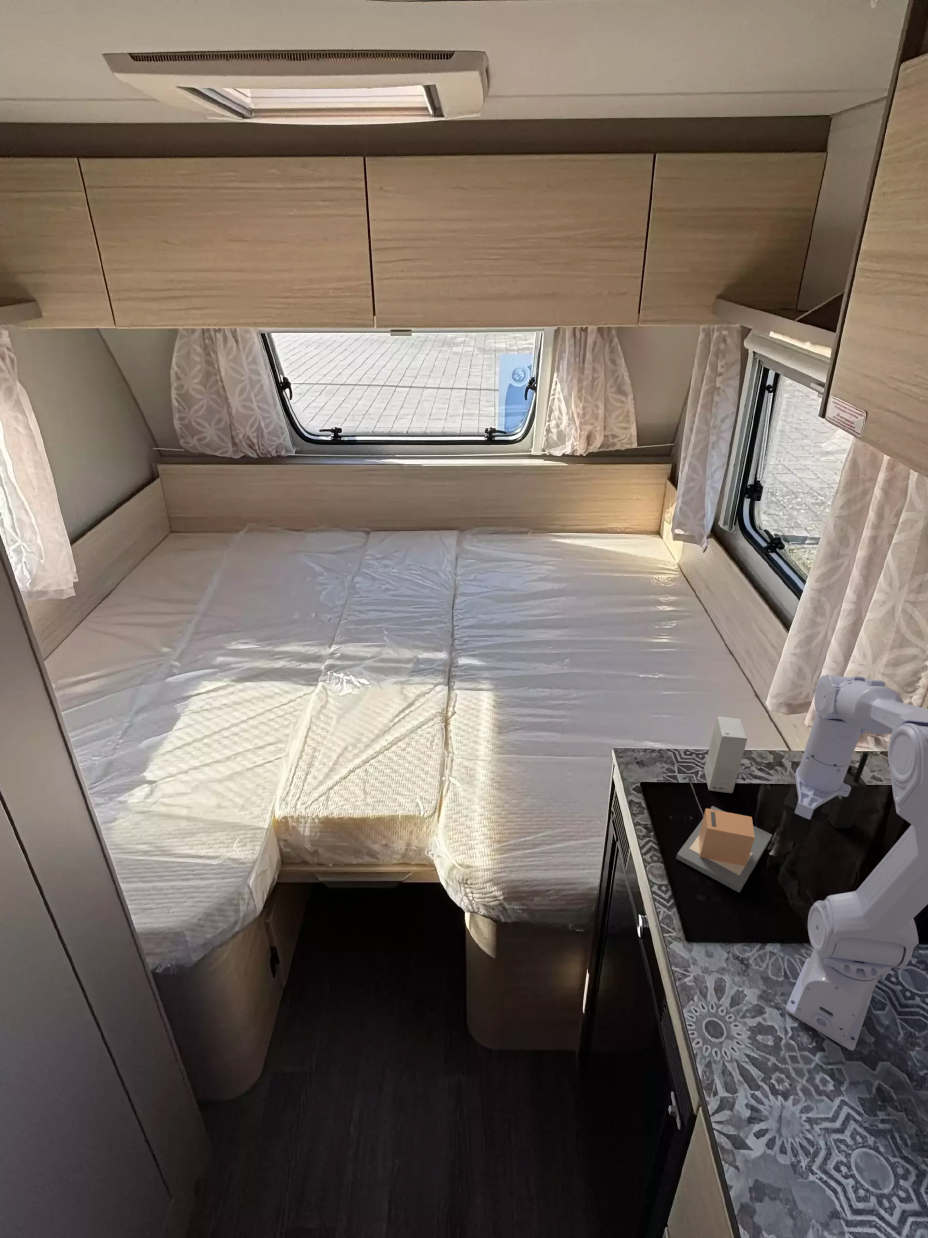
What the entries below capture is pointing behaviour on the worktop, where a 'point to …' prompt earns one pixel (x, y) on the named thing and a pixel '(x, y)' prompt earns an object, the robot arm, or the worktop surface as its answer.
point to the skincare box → (725, 754)
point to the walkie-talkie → (847, 798)
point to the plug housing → (726, 837)
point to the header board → (720, 870)
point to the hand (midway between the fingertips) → (802, 826)
